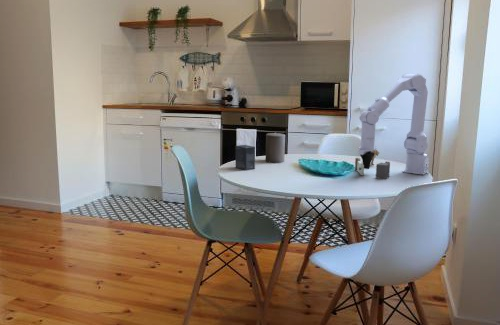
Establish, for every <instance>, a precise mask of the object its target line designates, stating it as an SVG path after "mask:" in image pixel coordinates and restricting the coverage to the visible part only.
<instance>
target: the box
mask: <svg viewBox="0 0 500 325" xmlns="http://www.w3.org/2000/svg"><path fill="white" fill-rule="evenodd" d="M235 169H240V170H244V171H250V170H255V169H256V146H252V145H247V144H241V145H235Z"/></svg>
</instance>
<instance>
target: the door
mask: <svg viewBox="0 0 500 325" xmlns="http://www.w3.org/2000/svg"><path fill="white" fill-rule="evenodd" d="M356 172H358V174H359V175H360V176H364V175H365V174H364V173H365V169H364V165H363V162H361V160H360V161H358V162H357V171H356Z"/></svg>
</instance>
